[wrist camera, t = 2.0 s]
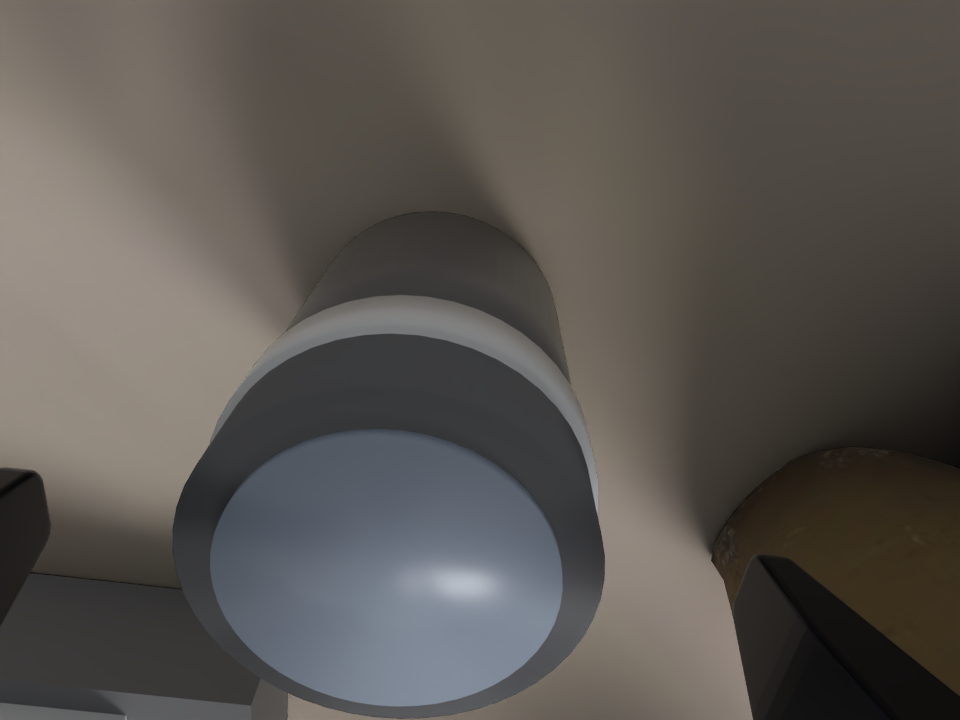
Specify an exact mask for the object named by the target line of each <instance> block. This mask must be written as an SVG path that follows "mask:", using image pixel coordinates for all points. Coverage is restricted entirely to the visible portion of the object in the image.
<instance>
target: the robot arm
mask: <svg viewBox="0 0 960 720" xmlns="http://www.w3.org/2000/svg"><path fill="white" fill-rule="evenodd" d="M50 527H51V523H50V516H49V511H48V506H47V500H46V495H45V489H44V484H43V480H42V478H41V476H40V475H39V474H38V473H37V472H35V471H33V470H26V469H17V468H0V627H1V625H2V623H3V621H4V619H5V618H6V616H7V614H8V612H9V610H10V608H11V607H12V605H13V603H14V601H15V599H16V598H17V596H18V594H19V592H20V590H21V588H22V587H23V585H24V583H25V581H26V579H27V578H28V576H29V574H30V572H31V570H32V568H33V567H34V565H35V563H36V561H37V559H38V558H39V556H40V554H41V552H42V550H43V548H44V547H45V545H46V543H47V540H48V537H49V534H50ZM733 618H734V624H735V629H736V635H737V640H738V645H739V650H740V655H741V660H742V665H743V671H744V676H745V681H746V686H747V691H748V696H749V701H750V707H751V712H752V717H753V720H960V696H959V695H957V694H956V693H955V692H954V691H953V690H951V689H950V688H949V687H948V686H946V685H945V684H944V683H943V682H941V681H940V680H939V679H938V678H936V677H935V676H934V675H933V674H932V673H930V672H929V671H928V670H927V669H925V668H924V667H923V666H922V665H920V664H919V663H918V662H917V661H916V660H914V659H913V658H912V657H911V656H909V655H908V654H907V653H906V652H904V651H903V650H902V649H901V648H899V647H898V646H897V645H896V644H895V643H893V642H892V641H891V640H890V639H888V638H887V637H886V636H885V635H883V634H882V633H881V632H880V631H878V630H877V629H876V628H875V627H874V626H872V625H871V624H870V623H869V622H867V621H866V620H865V619H864V618H862V617H861V616H860V615H859V614H857V613H856V612H855V611H854V610H853V609H851V608H850V607H849V606H848V605H846V604H845V603H844V602H843V601H841V600H840V599H839V598H838V597H836V596H835V595H834V594H833V593H832V592H830V591H829V590H828V589H827V588H825V587H824V586H823V585H822V584H820V583H819V582H818V581H817V580H815V579H814V578H813V577H812V576H811V575H809V574H808V573H807V572H806V571H804V570H803V569H802V568H801V567H799V566H798V565H797V564H796V563H795V562H793V561H792V560H791V559H789V558H787V557H783V556H775V555H767V554H757V555H755V556H753V557H752V558H751V560H750V562H749V564H748V566H747V569H746V572H745V574H744V577H743V579H742V582H741V584H740V587H739V590H738V592H737V595H736V597H735V601H734V606H733Z"/></svg>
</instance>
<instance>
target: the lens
mask: <svg viewBox="0 0 960 720" xmlns="http://www.w3.org/2000/svg"><path fill="white" fill-rule="evenodd" d="M598 491H599V486H598V479H597V473H596V467H595V461H594V457H593V452H592V448H591V443H590V439H589V434H588V430H587V425H586V422H585V418H584V415H583V412H582V409H581V406H580V403H579V401H578V399H577V397H576V395H575V393H574V391H573V389H572V387H571V382H570V377H569V372H568V367H567V362H566V357H565V353H564V348H563V343H562V338H561V333H560V328H559V323H558V318H557V313H556V308H555V303H554V300H553V297H552V293H551V290H550V287H549V285H548V283H547V281H546V279H545V277H544V275H543V273H542V272H541V270H540V269H539V267H538V266H537V264H536V263H535V261H534V260H533V259H532V258H531V257H530V255H529V254H528V253H527V252H526V251H525V250H524V249H523V248H522V247H521V246H520V245H519V244H518V243H516V242H515V241H514V240H513V239H512V238H510V237H509V236H507V235H506V234H504V233H503V232H501V231H500V230H498V229H497V228H495V227H493V226H491V225H488V224H486V223H484V222H482V221H479V220H477V219H474V218H471V217H468V216H464V215H459V214H454V213H448V212H433V211H430V212H415V213H410V214H405V215H400V216H396V217H393V218H390V219H387V220H384V221H382V222H380V223H378V224H376V225H374V226H372V227H370V228H368V229H366V230H365V231H363V232H362V233H361V234H359V235H358V236H356V237H355V238H354V239H353V240H351V241H350V242H349V243H348V244H347V245H346V246H345V247H344V248H343V249H342V250H341V251H340V253H339V254H338V255H337V256H336V258H335V259H334V260H333V261H332V263H331V264H330V266H329V267H328V269H327V270H326V272H325V273H324V275H323V276H322V278H321V279H320V281H319V282H318V284H317V285H316V287H315V288H314V290H313V291H312V293H311V294H310V296H309V297H308V299H307V300H306V302H305V303H304V305H303V306H302V308H301V309H300V311H299V312H298V314H297V315H296V317H295V318H294V320H293V321H292V323H291V324H290V326H289V327H288V329H287V330H286V332H285V333H284V334H283V335H282V336H280V337H279V338H278V339H277V340H276V341H275V342H274V343H273V344H272V345H270V346H269V347H268V348H267V350H266V351H265V352H264V353H263V355H262V356H261V357H260V358H259V360H258V361H257V362H256V363H255V364H254V366H253V367H252V369H251V370H250V372H249V373H248V375H247V376H246V377H245V379H244V380H243V382H242V383H241V385H240V386H239V388H238V389H237V390H236V392H235V393H234V395H233V396H232V398H231V399H230V400H229V402H228V404H227V406H226V407H225V409H224V411H223V413H222V414H221V416H220V418H219V420H218V422H217V425H216V427H215V430H214V433H213V435H212V438H211V441H210V445H209V447H208V448H207V450H206V451H205V453H204V454H203V456H202V457H201V459H200V460H199V462H198V463H197V465H196V466H195V468H194V470H193V472H192V473H191V475H190V477H189V479H188V480H187V482H186V484H185V485H184V488H183V491H182V493H181V496H180V499H179V502H178V504H177V507H176V513H175V519H174V524H173V555H174V561H175V567H176V573H177V575H178V578H179V581H180V584H181V587H182V590H183V593H184V595H185V597H186V599H187V601H188V603H189V605H190V607H191V608H192V610H193V612H194V614H195V615H196V617H197V618H198V620H199V621H200V622H201V624H202V625H203V627H204V628H205V630H206V631H207V632H208V633H209V634H210V636H211V637H212V638H213V639H214V640H215V641H216V642H217V643H218V644H219V645H220V647H221V648H222V649H223V650H225V651H226V652H227V653H228V654H229V655H230V656H231V657H233V658H234V659H235V660H236V661H237V662H238V663H239V664H241V665H242V666H243V667H245V668H246V669H248V670H249V671H251V672H252V673H254V674H255V675H256V676H258V677H259V678H261V679H263V680H264V681H266V682H268V683H270V684H272V685H273V686H275V687H277V688H279V689H281V690H283V691H285V692H287V693H289V694H292V695H294V696H296V697H299V698H301V699H303V700H306V701H309V702H312V703H315V704H318V705H321V706H324V707H327V708H331V709H335V710H339V711H343V712H347V713H352V714H359V715H365V716H372V717H383V718H399V719H404V718H429V717H437V716H446V715H452V714H457V713H462V712H466V711H471V710H475V709H478V708H481V707H484V706H487V705H490V704H494V703H496V702H499V701H501V700H503V699H506V698H508V697H510V696H512V695H515V694H517V693H519V692H520V691H522V690H524V689H526V688H527V687H529V686H531V685H533V684H534V683H536V682H537V681H539V680H540V679H542V678H543V677H544V676H546V675H547V674H548V673H550V672H551V671H552V670H554V669H555V668H556V667H557V666H558V665H559V664H560V663H561V662H562V661H563V660H564V659H565V658H566V657H567V656H568V655H569V654H570V653H571V652H572V650H573V649H574V648H575V647H576V645H577V644H578V643H579V641H580V640H581V639H582V638H583V636H584V634H585V632H586V631H587V629H588V627H589V625H590V624H591V622H592V620H593V618H594V615H595V613H596V610H597V607H598V604H599V602H600V599H601V594H602V588H603V583H604V576H605V554H604V548H603V542H602V536H601V530H600V525H599V521H598V516H597V512H598Z"/></svg>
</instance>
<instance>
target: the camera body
mask: <svg viewBox="0 0 960 720" xmlns="http://www.w3.org/2000/svg"><path fill="white" fill-rule="evenodd" d="M287 707H288V693H287V692H285V691H283V690H281V689H279V688H277V687H275V686H273V685H272V684H270V683H268V682H266V681H264V680H263V679H261V678H259V677H258V676H256V675H255V674H254V673H252V672H251V671H249V670H248V669H246V668H245V667H243V666H242V665H241V664H239V663H238V662H237V661H236V660H235V659H234V658H233V657H231V656H230V655H229V654H228V653H227V652H226V651H225V650H223V649H222V648H221V647H220V645H219V644H218V643H217V642H216V641H215V640H214V639H213V638H212V637H211V636H210V634H209V633H208V632H207V631H206V630H205V628H204V627H203V625H202V624H201V622H200V621H199V620H198V618H197V617H196V615H195V614H194V612H193V610H192V608H191V607H190V605H189V603H188V601H187V599H186V597H185V595H184V593H183V590H180V589H171V588H161V587H152V586H143V585H134V584H125V583H116V582H107V581H97V580H88V579H79V578H70V577H61V576H52V575H43V574H33V573H30V574H29V576H28V578H27V579H26V581H25V583H24V585H23V587H22V588H21V590H20V592H19V594H18V596H17V598H16V599H15V601H14V603H13V605H12V607H11V608H10V610H9V612H8V614H7V616H6V618H5V619H4V621H3V623H2V625H1V627H0V720H287Z"/></svg>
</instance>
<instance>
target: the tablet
mask: <svg viewBox="0 0 960 720" xmlns="http://www.w3.org/2000/svg"><path fill="white" fill-rule="evenodd" d="M757 554H767V555H775V556H783V557H787V558H789V559H791V560H792V561H793V562H795V563H796V564H797V565H798V566H799V567H801V568H802V569H803V570H804V571H806V572H807V573H808V574H809V575H811V576H812V577H813V578H814V579H815V580H817V581H818V582H819V583H820V584H822V585H823V586H824V587H825V588H827V589H828V590H829V591H830V592H832V593H833V594H834V595H835V596H836V597H838V598H839V599H840V600H841V601H843V602H844V603H845V604H846V605H848V606H849V607H850V608H851V609H853V610H854V611H855V612H856V613H857V614H859V615H860V616H861V617H862V618H864V619H865V620H866V621H867V622H869V623H870V624H871V625H872V626H874V627H875V628H876V629H877V630H878V631H880V632H881V633H882V634H883V635H885V636H886V637H887V638H888V639H890V640H891V641H892V642H893V643H895V644H896V645H897V646H898V647H899V648H901V649H902V650H903V651H904V652H906V653H907V654H908V655H909V656H911V657H912V658H913V659H914V660H916V661H917V662H918V663H919V664H920V665H922V666H923V667H924V668H925V669H927V670H928V671H929V672H930V673H932V674H933V675H934V676H935V677H936V678H938V679H939V680H940V681H941V682H943V683H944V684H945V685H946V686H948V687H949V688H950V689H951V690H953V691H954V692H955V693H956V694H957V695H959V696H960V468H957V467H954V466H951V465H948V464H944V463H941V462H938V461H935V460H932V459H929V458H926V457H922V456H918V455H914V454H911V453H907V452H903V451H894V450H883V449H872V448H860V447H846V448H840V449H833V450H826V451H819V452H816V453H813V454H810V455H807V456H804V457H801V458H798V459H795V460H792V461H790V462H789V463H787V464H786V465H785V466H784V467H783V468H782V469H780V470H778V471H777V472H775V473H774V474H773V475H771V476H770V477H769V478H767V479H766V480H765V481H763V482H762V483H761V484H760V485H759V486H758V487H757V488H756V489H755V490H754V491H753V492H752V493H751V494H750V495H749V496H748V497H747V498H746V500H745V501H744V502H743V503H742V504H741V505H740V507H739V508H738V509H737V510H736V511H735V513H734V514H733V515H732V517H731V518H730V520H729V521H728V523H727V524H726V526H725V527H724V529H723V530H722V532H721V533H720V535H719V537H718V539H717V541H716V542H715V544H714V549H713V554H712V560H711V561H712V562H713V564H714V566H715V567H716V569H717V570H718V572H719V573H720V575H721V577H722V578H723V580H724V583H725V587H726V591H727V595H728V599H729V603H730V607H731V611H732V615H733V606H734V601H735V597H736V595H737V592H738V590H739V587H740V584H741V582H742V579H743V577H744V574H745V572H746V569H747V566H748V564H749V562H750V560H751V558H752V557H753V556H755V555H757ZM733 619H734V618H733Z"/></svg>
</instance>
